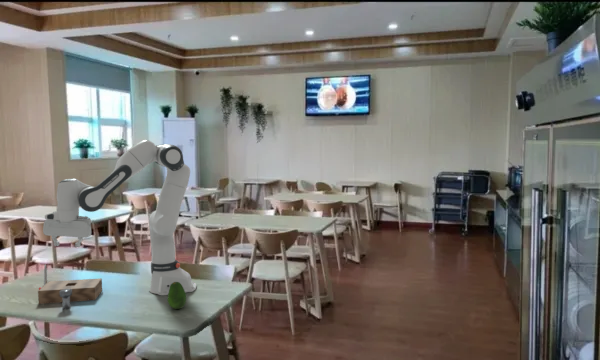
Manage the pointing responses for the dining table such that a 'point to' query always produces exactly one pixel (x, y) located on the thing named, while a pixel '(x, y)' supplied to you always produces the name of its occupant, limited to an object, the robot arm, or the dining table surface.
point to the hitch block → (80, 290)
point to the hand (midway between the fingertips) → (67, 246)
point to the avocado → (176, 296)
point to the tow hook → (45, 276)
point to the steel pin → (66, 297)
